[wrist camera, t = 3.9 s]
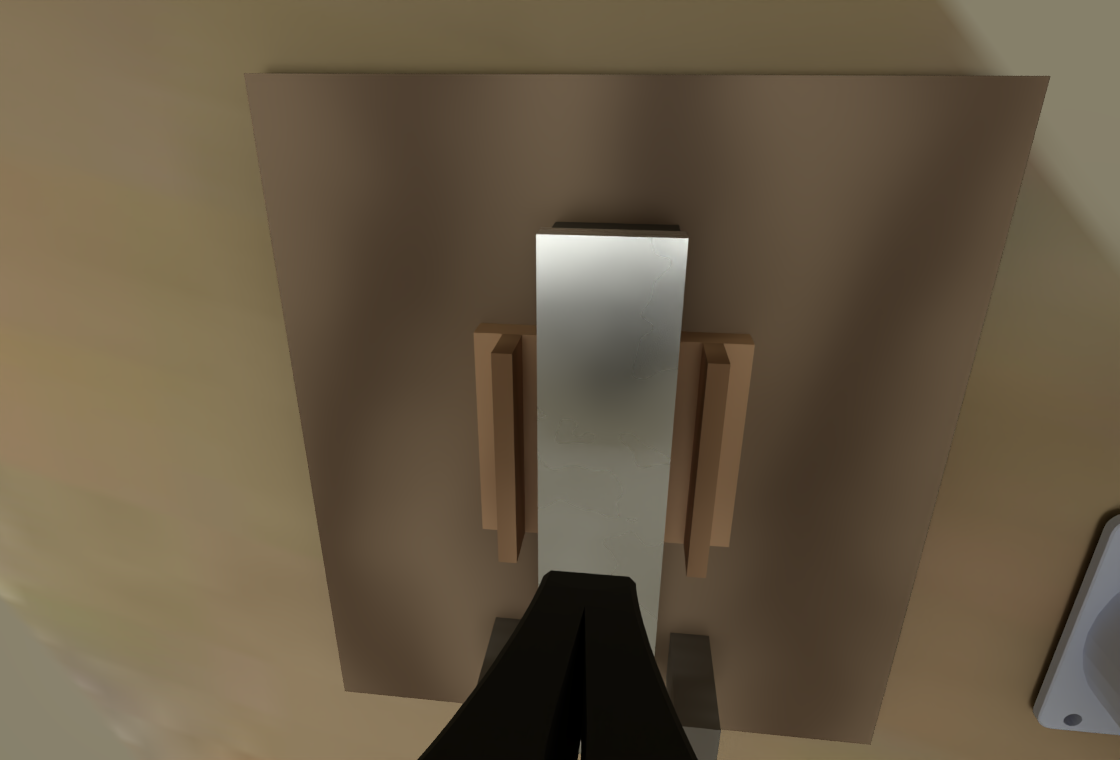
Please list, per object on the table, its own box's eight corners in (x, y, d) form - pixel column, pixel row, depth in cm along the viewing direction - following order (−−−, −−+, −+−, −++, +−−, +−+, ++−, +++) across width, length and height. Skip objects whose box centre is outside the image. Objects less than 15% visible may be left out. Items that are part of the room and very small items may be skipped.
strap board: (1025, 77, 15) (1167, 69, 11) (861, 718, 23) (908, 852, 19) (265, 74, 17) (146, 67, 13) (355, 668, 25) (299, 780, 20)
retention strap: (705, 230, 14) (710, 240, 13) (659, 734, 19) (660, 772, 18) (524, 225, 14) (514, 235, 13) (530, 721, 20) (524, 757, 19)
